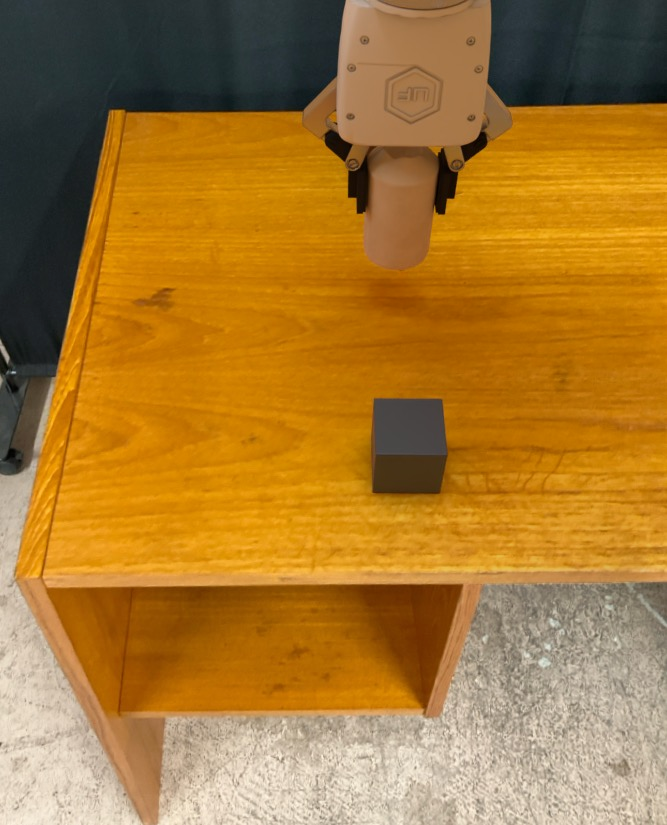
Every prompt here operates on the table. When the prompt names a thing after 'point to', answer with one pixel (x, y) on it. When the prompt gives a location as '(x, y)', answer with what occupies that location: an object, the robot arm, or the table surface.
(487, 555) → the table surface
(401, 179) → the candle
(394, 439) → the near block
